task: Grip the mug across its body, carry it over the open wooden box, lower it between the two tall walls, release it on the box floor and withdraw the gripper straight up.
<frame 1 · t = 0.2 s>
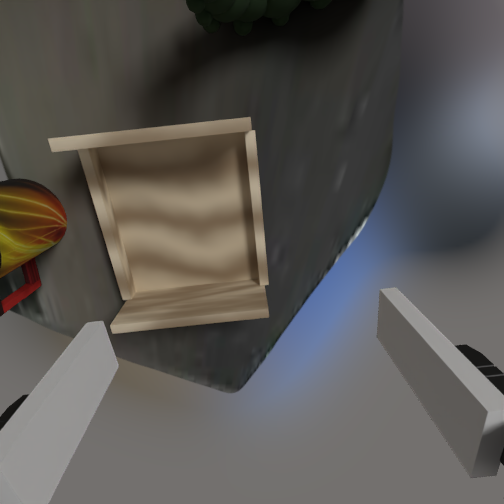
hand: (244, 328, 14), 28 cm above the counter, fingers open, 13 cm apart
open wooden box: (186, 217, 41), on the counter
mug: (40, 228, 41), on the counter
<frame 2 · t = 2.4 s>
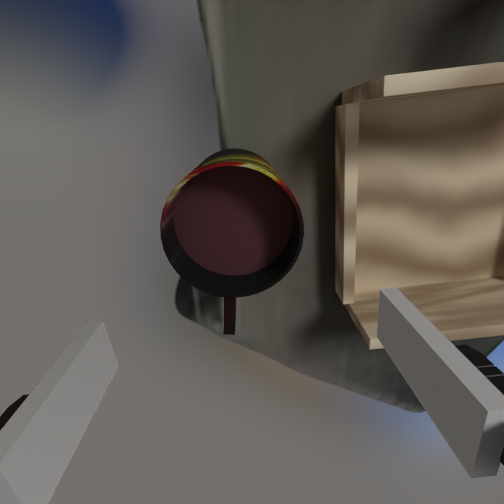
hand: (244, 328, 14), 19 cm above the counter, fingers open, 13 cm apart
open wooden box: (430, 198, 32), on the counter
mug: (243, 214, 32), on the counter
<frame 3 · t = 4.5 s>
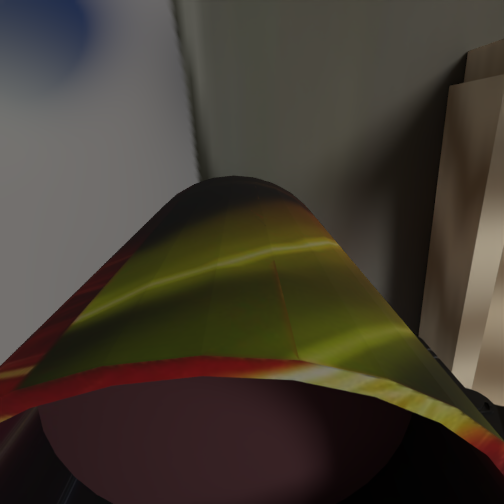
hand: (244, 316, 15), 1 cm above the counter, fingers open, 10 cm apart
mug: (251, 299, 17), on the counter, touching gripper
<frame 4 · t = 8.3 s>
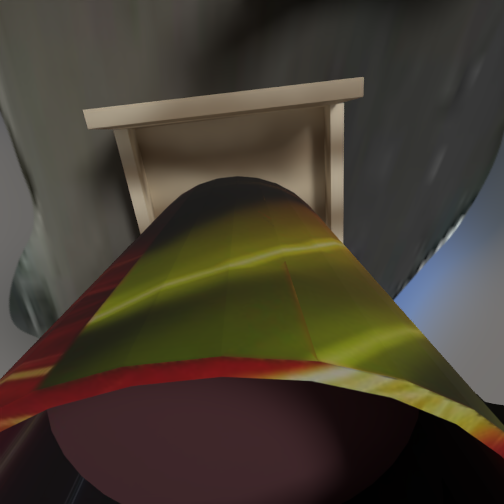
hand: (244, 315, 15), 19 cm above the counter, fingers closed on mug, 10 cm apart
open wooden box: (241, 217, 33), on the counter
mug: (254, 299, 17), point 17 cm above the counter, touching gripper
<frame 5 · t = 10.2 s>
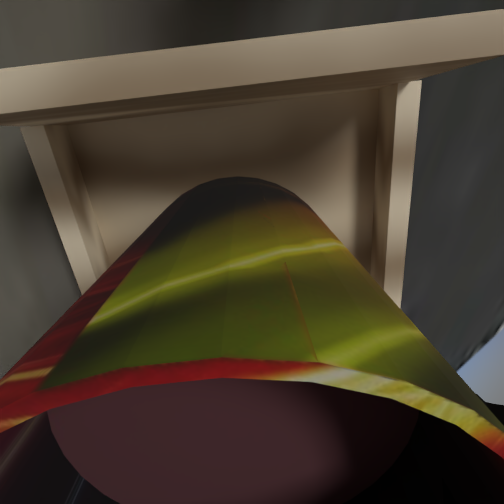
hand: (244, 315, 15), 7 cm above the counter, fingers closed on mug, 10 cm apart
open wooden box: (242, 260, 22), on the counter
mug: (254, 299, 17), point 5 cm above the counter, touching gripper
when the fingers open (4 cm above the counter, at t = 11.8 s): mug drops 2 cm, resting on open wooden box.
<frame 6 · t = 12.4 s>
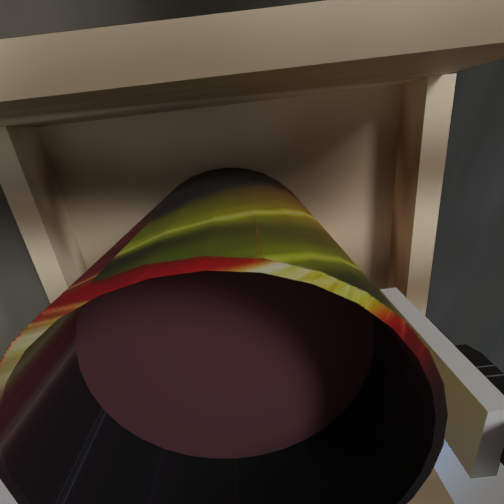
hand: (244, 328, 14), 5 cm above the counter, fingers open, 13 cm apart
open wooden box: (243, 278, 19), on the counter
mug: (247, 279, 19), point 1 cm above the counter, touching open wooden box
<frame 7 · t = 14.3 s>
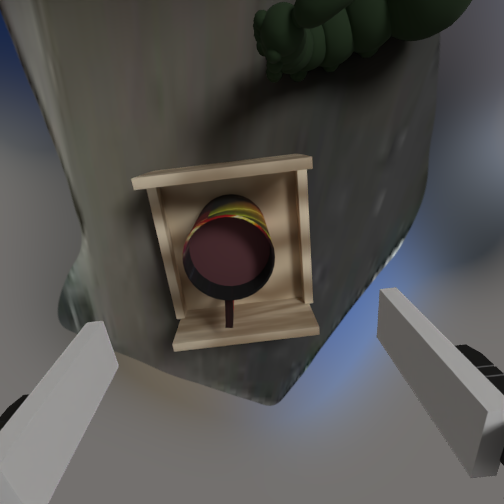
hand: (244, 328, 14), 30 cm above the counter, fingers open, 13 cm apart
open wooden box: (236, 241, 44), on the counter
mug: (238, 240, 43), point 1 cm above the counter, touching open wooden box
toy figurine: (351, 29, 36), on the counter
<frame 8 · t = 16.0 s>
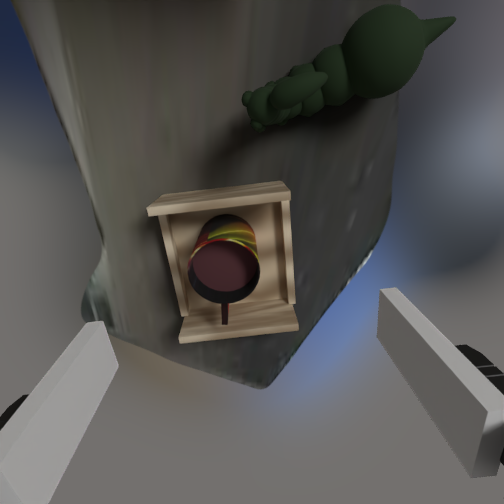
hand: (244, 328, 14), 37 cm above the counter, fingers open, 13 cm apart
open wooden box: (231, 251, 52), on the counter
mug: (232, 251, 52), point 1 cm above the counter, touching open wooden box
toy figurine: (325, 81, 43), on the counter
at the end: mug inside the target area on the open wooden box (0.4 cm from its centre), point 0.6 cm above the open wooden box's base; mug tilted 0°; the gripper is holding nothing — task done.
